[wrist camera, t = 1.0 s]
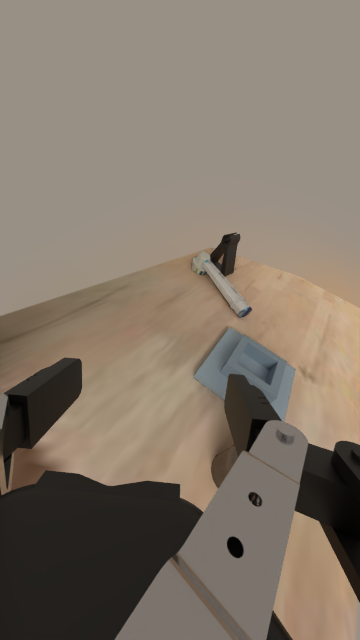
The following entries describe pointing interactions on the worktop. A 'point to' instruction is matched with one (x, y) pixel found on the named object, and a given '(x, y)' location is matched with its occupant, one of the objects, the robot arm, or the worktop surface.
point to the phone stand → (226, 254)
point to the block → (248, 369)
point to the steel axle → (223, 465)
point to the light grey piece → (221, 284)
